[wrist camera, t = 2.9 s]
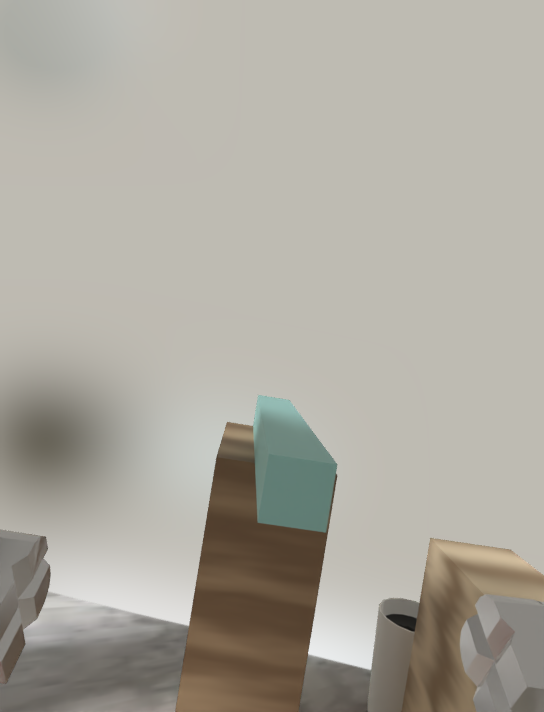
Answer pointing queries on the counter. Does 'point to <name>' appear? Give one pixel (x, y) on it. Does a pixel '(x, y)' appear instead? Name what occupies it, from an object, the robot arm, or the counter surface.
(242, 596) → the post
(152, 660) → the counter surface
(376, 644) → the white coffee cup
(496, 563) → the zigzag patterned block
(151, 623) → the counter surface
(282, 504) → the rail
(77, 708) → the counter surface
